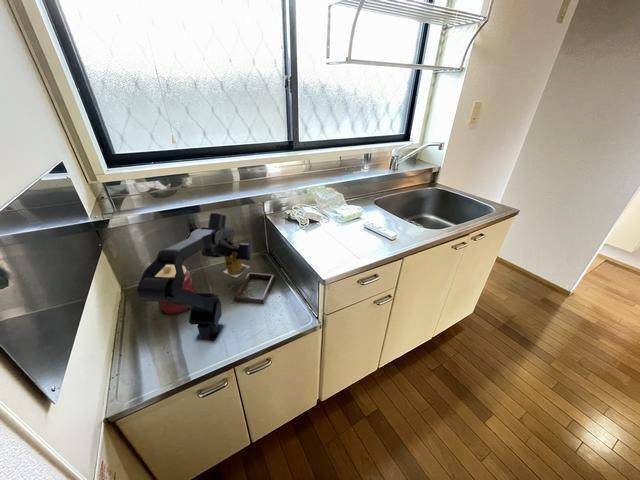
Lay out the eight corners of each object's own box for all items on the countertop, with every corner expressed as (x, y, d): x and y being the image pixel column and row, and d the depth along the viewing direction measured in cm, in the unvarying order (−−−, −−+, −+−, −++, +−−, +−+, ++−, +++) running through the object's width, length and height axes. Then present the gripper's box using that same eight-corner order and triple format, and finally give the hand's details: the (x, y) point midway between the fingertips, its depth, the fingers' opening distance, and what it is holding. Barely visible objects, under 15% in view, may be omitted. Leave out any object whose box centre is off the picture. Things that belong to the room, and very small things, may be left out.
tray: (263, 303, 101) (262, 299, 100) (235, 300, 102) (234, 296, 101) (274, 278, 114) (274, 274, 113) (249, 276, 116) (248, 272, 114)
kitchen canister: (201, 304, 100) (190, 267, 91) (165, 320, 93) (149, 282, 84) (191, 286, 109) (180, 251, 100) (156, 300, 102) (141, 263, 93)
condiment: (222, 272, 108) (218, 248, 101) (237, 262, 114) (233, 238, 108) (236, 278, 105) (232, 253, 99) (250, 267, 111) (247, 243, 105)
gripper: (247, 226, 93) (260, 237, 108) (198, 222, 95) (218, 234, 110) (241, 256, 91) (255, 263, 106) (191, 251, 93) (212, 259, 108)
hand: (235, 254), depth 107 cm, fingers closed on condiment, 6 cm apart
